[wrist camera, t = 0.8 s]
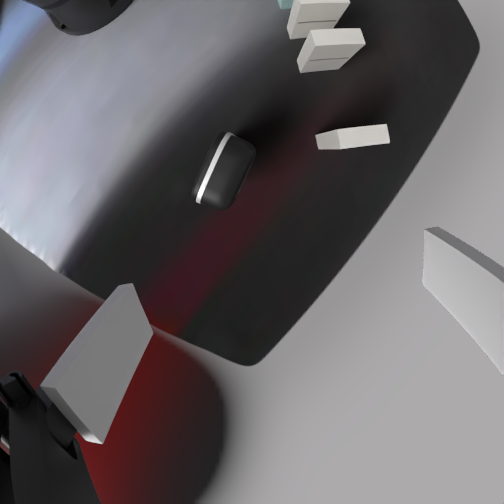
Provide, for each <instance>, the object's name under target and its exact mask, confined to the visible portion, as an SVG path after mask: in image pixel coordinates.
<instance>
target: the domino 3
mask: <svg viewBox="0 0 504 504" xmlns="http://www.w3.org/2000/svg"><path fill="white" fill-rule="evenodd" d="M365 44H366V43H365V40H364V37H363V35H362V32H361V29H360V28H340V29H318V30H310V32H309V34H308V36H307V39H306V41H305V43H304V45H303V47H302V50H301V52H300V54H299V56H298V59H297V63H298V67H299V70H300V73H305V72H313V71H323V70H334V69H339V68H340V67H341V66H342V65H343V64H345V63H346V62H347V61H348V60H349V59H350V58H351V57H352V56H353V55H354V54H355V53H356V52H357V51H359V50H360V49H361V48H362V47H363V46H364V45H365Z"/></svg>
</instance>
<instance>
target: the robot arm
mask: <svg viewBox="0 0 504 504" xmlns="http://www.w3.org/2000/svg"><path fill="white" fill-rule="evenodd" d="M23 1H26V2H28V3H30V4H33V5H35V6H37V7H40V8H42V9H44V10H45V12H46V13H47V15H48V16H49V18H50V19H51V21H52V22H53V24H54V25H55V26H56V28H58V29H59V30H60V31H63V32H65V33H67V34H69V35H75V36H76V35H84V34H88V33H91V32H93V31H96V30H98V29H100V28H101V27H103V26H105V25H106V24H108V23H109V22H111V21H112V20H113V19H115V18H116V17H117V16H118V15H120V14H121V13H122V12H123V11H124V10H125V9H126V8H127V7H128V5H129V4H130V3H131V2H132V0H23ZM424 233H425V234H424V235H425V236H424V267H423V281H422V284H423V285H424V286H425V287H426V288H427V289H428V290H429V291H430V292H431V294H432V295H434V297H435V298H436V299H437V300H438V301H440V303H441V304H442V305H443V306H444V307H445V308H446V309H447V310H448V311H449V312H450V313H451V314H452V316H453V317H454V318H455V319H456V320H457V321H458V322H459V323H460V324H461V325H462V327H463V328H464V329H465V330H466V331H467V332H468V333H469V334H470V335H471V337H472V338H473V339H474V340H475V341H476V343H477V344H478V345H479V346H480V347H481V348H482V350H483V351H484V352H485V353H486V354H487V356H488V357H489V358H490V359H491V361H492V362H493V363H494V364H495V366H496V367H497V368H498V369H499V371H500V372H501V373H502V375H504V268H503V267H502V266H501V265H499V264H498V263H496V262H495V261H493V260H492V259H490V258H489V257H487V256H485V255H484V254H482V253H481V252H479V251H478V250H476V249H475V248H473V247H471V246H470V245H468V244H467V243H465V242H463V241H461V240H460V239H458V238H456V237H455V236H453V235H451V234H450V233H448V232H446V231H444V230H443V229H441V228H439V227H433V228H428V229H425V231H424ZM152 335H153V331H152V329H151V327H150V324H149V322H148V320H147V317H146V315H145V313H144V310H143V308H142V306H141V303H140V301H139V298H138V296H137V293H136V291H135V288H134V286H133V283H131V284H125V285H119V286H118V287H117V288H116V289H115V291H114V292H113V293H112V294H111V295H110V296H109V297H108V299H107V300H106V301H105V302H104V304H103V305H102V306H101V307H100V308H99V309H98V311H97V312H96V313H95V314H94V316H93V317H92V318H91V319H90V320H89V322H88V323H87V324H86V325H85V326H84V328H83V329H82V330H81V331H80V333H79V334H78V335H77V337H76V338H75V339H74V340H73V342H72V343H71V344H70V346H69V347H68V348H67V349H66V350H65V351H64V353H63V354H62V355H61V357H60V358H59V359H58V361H57V362H56V363H55V365H54V367H53V368H52V369H51V370H50V371H49V373H48V374H47V376H46V377H45V378H44V380H43V381H42V383H41V384H40V386H39V387H38V388H37V390H36V391H35V390H34V389H33V388H32V387H31V385H30V383H29V382H28V381H27V379H26V378H25V377H24V375H23V374H22V372H20V371H18V370H16V371H12V372H9V373H8V374H6V375H5V376H4V377H2V378H1V380H0V396H1V397H2V399H3V400H4V401H5V403H6V404H7V405H5V404H4V403H3V402H2V400H1V399H0V440H1V441H2V442H3V443H4V444H5V445H6V446H7V447H8V448H9V450H10V455H8V454H7V453H6V452H5V451H4V450H3V449H2V448H1V447H0V504H101V502H100V500H99V498H98V495H97V493H96V490H95V488H94V486H93V483H92V480H91V478H90V475H89V472H88V469H87V466H86V463H85V460H84V457H83V454H82V451H81V448H80V444H79V442H78V441H77V439H76V438H75V437H74V435H75V433H76V431H78V432H79V433H80V434H81V435H82V437H83V438H84V439H85V440H87V441H90V442H95V443H100V444H103V442H104V440H105V437H106V435H107V432H108V430H109V428H110V425H111V423H112V421H113V418H114V416H115V414H116V412H117V409H118V407H119V405H120V403H121V400H122V398H123V396H124V394H125V392H126V389H127V387H128V385H129V382H130V380H131V378H132V376H133V374H134V372H135V370H136V368H137V366H138V364H139V361H140V359H141V357H142V355H143V353H144V351H145V349H146V347H147V345H148V343H149V341H150V339H151V337H152Z"/></svg>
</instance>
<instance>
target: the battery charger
mask: <svg viewBox="0 0 504 504" xmlns="http://www.w3.org/2000/svg"><path fill="white" fill-rule="evenodd" d="M255 157H256V149H255V147H254V146H253V145H252V144H251V143H249V142H247V141H245V140H243V139H241V138H239V137H236V136H235V135H234V134H232V133H229V132H228V133H227V132H220V133H218V134H217V136H216V137H215V139H214V141H213V143H212V145H211V147H210V149H209V151H208V153H207V155H206V158H205V160H204V162H203V164H202V167H201V169H200V171H199V174H198V176H197V178H196V181H195V183H194V186H193V188H192V191H191V198H192V199H193V200H195V201H196V202H197V203H200V204H201V203H202V204H204V205H207V206H209V207H211V208H213V209H216V210H226V209H228V208H229V207H230V206H231V205H232V204H233V203H234V201H235V199H236V197H237V196H238V193H239V191H240V189H241V187H242V185H243V183H244V181H245V179H246V177H247V174H248V172H249V170H250V168H251V166H252V164H253V162H254V160H255Z"/></svg>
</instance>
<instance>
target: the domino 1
mask: <svg viewBox="0 0 504 504" xmlns="http://www.w3.org/2000/svg"><path fill="white" fill-rule="evenodd" d="M293 1H294V0H278V3H279V6H280V9H288V8H292V5H293Z"/></svg>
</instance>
